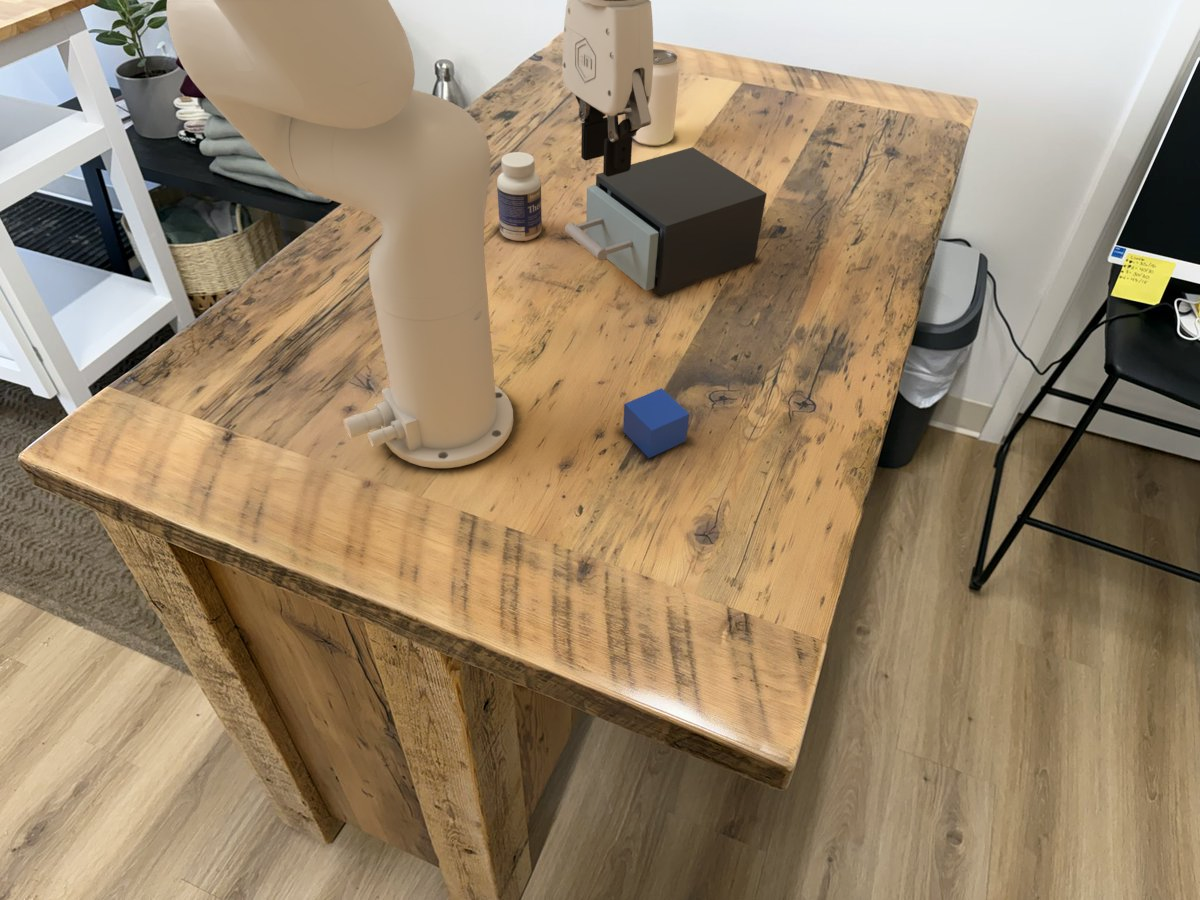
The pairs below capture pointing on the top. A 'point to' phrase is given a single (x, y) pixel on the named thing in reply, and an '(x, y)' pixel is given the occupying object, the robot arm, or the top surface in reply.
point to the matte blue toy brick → (655, 422)
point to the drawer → (619, 236)
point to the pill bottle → (519, 197)
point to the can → (661, 100)
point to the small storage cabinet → (692, 214)
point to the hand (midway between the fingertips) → (605, 163)
